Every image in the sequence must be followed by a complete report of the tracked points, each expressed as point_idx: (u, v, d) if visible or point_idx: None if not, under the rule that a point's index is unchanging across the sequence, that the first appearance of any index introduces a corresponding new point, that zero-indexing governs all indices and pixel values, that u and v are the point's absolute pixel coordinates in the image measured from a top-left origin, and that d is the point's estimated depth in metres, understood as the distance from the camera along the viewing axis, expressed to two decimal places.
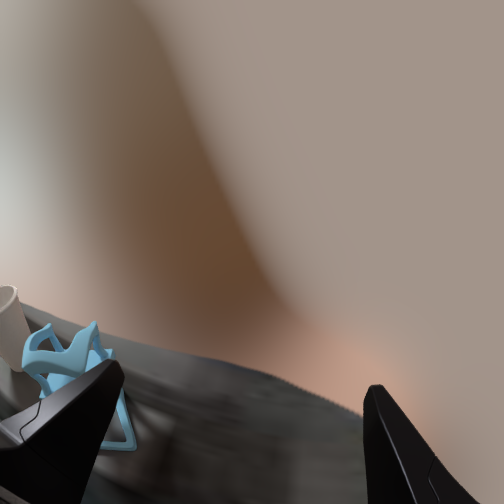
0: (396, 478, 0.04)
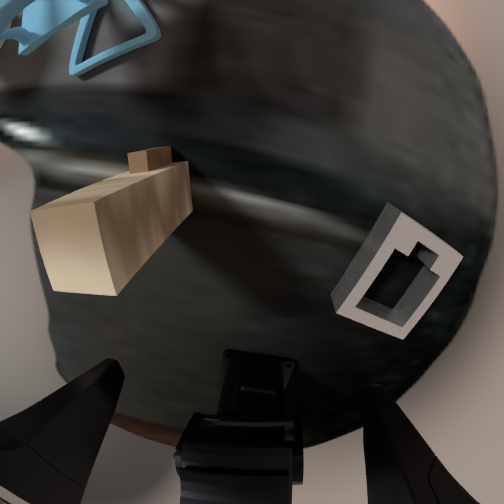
0: (396, 478, 0.04)
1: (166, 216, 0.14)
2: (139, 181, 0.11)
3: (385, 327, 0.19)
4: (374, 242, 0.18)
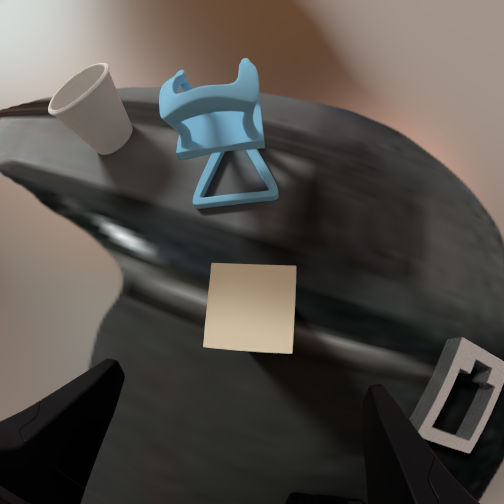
0: (396, 478, 0.04)
1: None
2: None
3: (455, 443, 0.13)
4: (442, 369, 0.17)
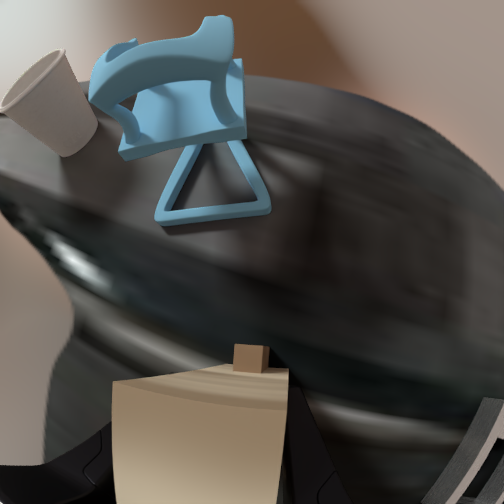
0: (288, 486, 0.05)
1: None
2: (287, 386, 0.08)
3: None
4: (476, 438, 0.10)
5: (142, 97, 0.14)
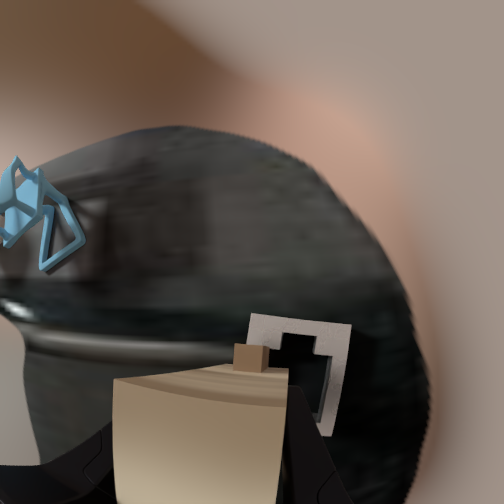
0: (289, 486, 0.05)
1: None
2: (286, 385, 0.08)
3: None
4: None
5: (7, 211, 0.22)
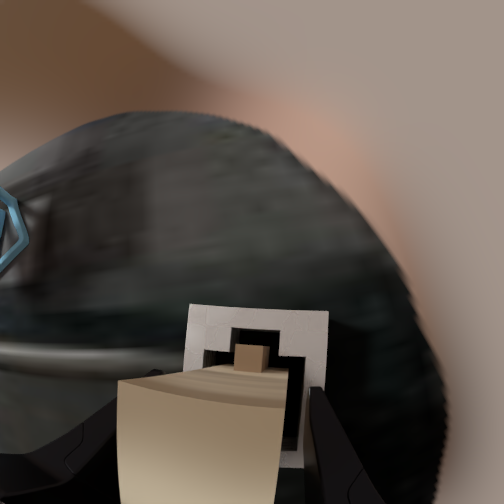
0: (317, 486, 0.05)
1: None
2: (286, 385, 0.08)
3: None
4: None
5: None
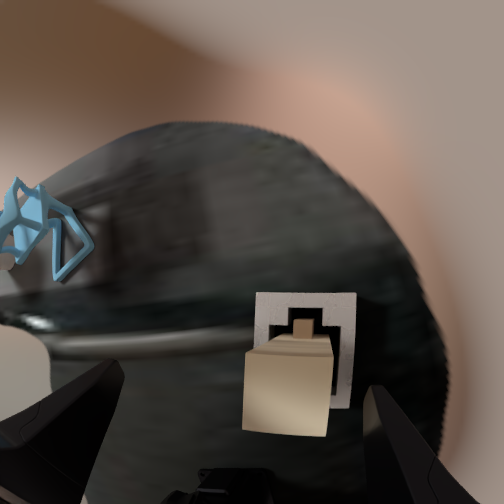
0: (396, 478, 0.04)
1: None
2: (330, 346, 0.13)
3: None
4: None
5: (15, 230, 0.24)
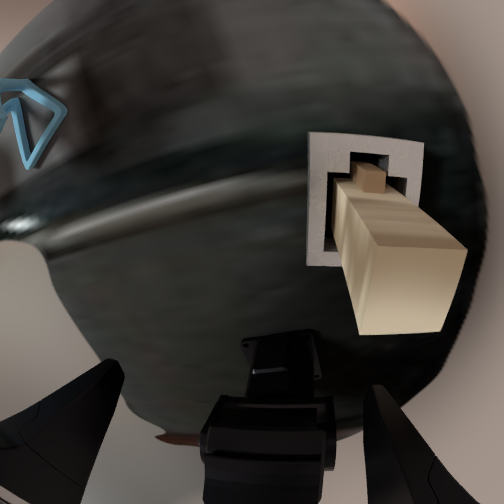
0: (396, 478, 0.04)
1: None
2: (427, 216, 0.11)
3: None
4: None
5: None
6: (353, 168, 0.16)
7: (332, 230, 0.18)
